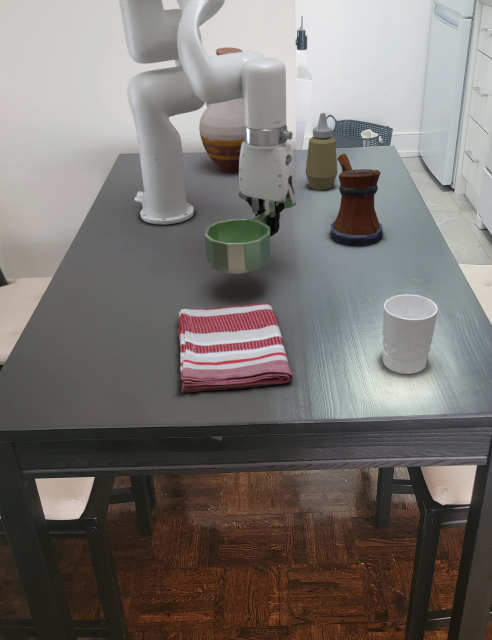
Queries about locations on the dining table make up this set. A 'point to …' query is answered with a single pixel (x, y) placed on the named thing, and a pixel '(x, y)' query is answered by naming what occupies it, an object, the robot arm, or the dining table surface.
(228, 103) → the jug
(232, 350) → the dish towel
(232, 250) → the green saucepan
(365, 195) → the mug
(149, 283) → the dining table surface
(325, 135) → the squeeze bottle
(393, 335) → the white cup
